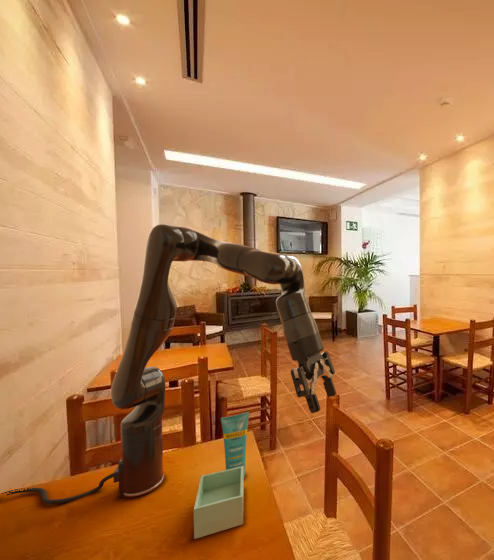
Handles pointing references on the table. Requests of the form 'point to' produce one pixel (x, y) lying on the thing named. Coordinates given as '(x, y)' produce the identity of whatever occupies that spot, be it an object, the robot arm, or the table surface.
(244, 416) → the tube
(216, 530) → the open pale green box
